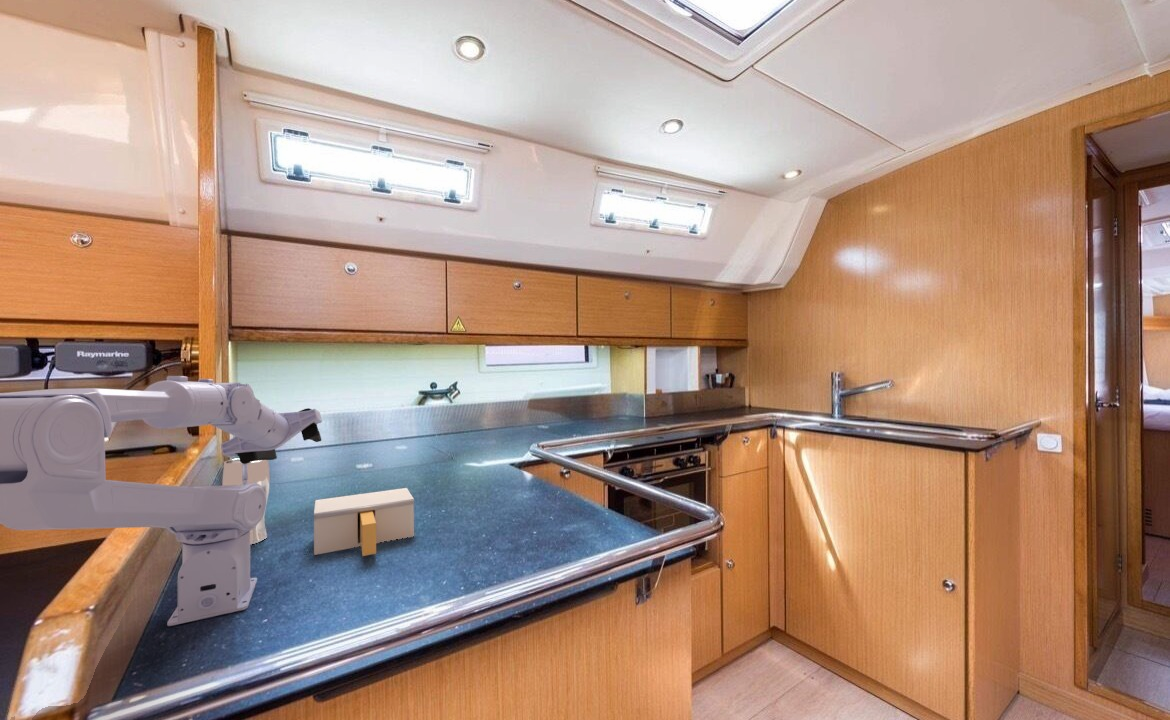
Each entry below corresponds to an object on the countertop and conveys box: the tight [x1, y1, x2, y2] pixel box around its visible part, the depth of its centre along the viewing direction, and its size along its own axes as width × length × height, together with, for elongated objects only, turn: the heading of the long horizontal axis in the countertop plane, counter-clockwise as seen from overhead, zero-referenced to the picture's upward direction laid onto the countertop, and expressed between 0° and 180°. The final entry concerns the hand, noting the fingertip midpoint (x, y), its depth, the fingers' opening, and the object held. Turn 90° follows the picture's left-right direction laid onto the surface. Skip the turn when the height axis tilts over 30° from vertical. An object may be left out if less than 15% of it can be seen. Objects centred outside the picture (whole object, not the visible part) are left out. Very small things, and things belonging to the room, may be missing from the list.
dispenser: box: [313, 487, 415, 556], centre depth 84 cm, size 10×16×7 cm, turn 119°
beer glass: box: [221, 457, 271, 546], centre depth 83 cm, size 7×7×15 cm
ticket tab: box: [358, 510, 377, 557], centre depth 80 cm, size 14×2×5 cm, turn 29°
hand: (296, 445), depth 83 cm, fingers open, 7 cm apart
